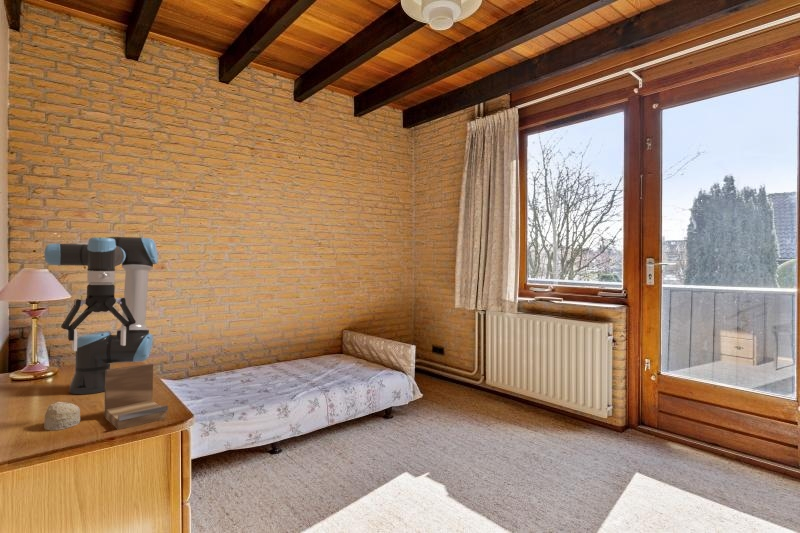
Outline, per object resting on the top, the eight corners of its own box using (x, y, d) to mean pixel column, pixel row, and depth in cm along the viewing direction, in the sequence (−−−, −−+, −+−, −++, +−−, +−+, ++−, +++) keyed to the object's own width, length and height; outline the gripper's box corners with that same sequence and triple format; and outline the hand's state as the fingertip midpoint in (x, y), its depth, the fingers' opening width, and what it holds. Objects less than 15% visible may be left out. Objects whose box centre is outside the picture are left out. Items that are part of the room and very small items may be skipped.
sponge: (67, 432, 138) (50, 407, 138) (93, 415, 139) (75, 390, 139) (46, 443, 129) (27, 417, 129) (73, 425, 130) (55, 399, 130)
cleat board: (104, 417, 141) (105, 369, 142) (150, 407, 152) (151, 363, 152) (118, 430, 130) (119, 379, 130) (167, 419, 140) (168, 371, 141)
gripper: (56, 285, 127) (54, 354, 127) (146, 283, 146) (145, 344, 146) (50, 284, 132) (48, 351, 132) (138, 283, 151) (137, 341, 151)
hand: (99, 347), depth 139 cm, fingers open, 13 cm apart
